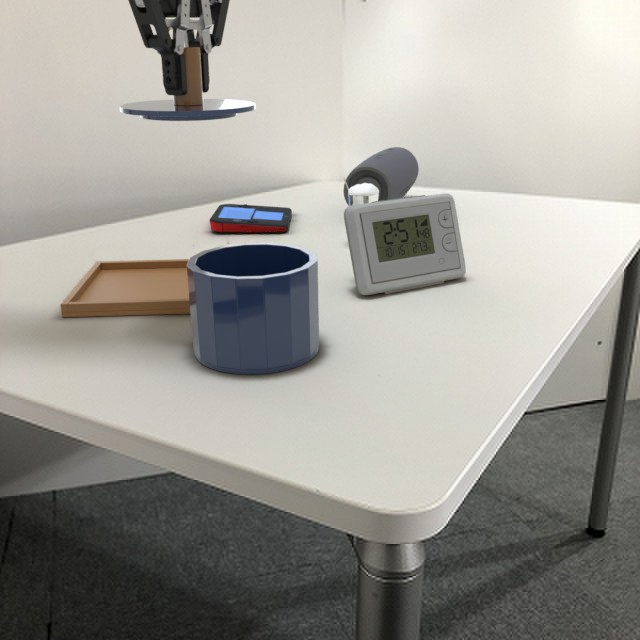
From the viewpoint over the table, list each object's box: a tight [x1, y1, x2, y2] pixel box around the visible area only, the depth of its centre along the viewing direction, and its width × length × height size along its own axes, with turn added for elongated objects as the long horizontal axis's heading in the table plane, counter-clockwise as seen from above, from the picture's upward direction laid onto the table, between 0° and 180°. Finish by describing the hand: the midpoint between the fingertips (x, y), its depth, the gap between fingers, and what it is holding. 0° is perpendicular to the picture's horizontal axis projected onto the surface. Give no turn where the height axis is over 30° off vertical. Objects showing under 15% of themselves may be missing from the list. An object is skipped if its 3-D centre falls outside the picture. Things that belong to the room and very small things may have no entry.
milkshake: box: [342, 176, 379, 207], centre depth 116 cm, size 4×5×10 cm
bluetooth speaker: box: [342, 146, 420, 207], centre depth 138 cm, size 23×9×10 cm, turn 162°
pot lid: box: [119, 46, 257, 122], centre depth 78 cm, size 14×14×7 cm
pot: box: [187, 242, 320, 375], centre depth 78 cm, size 13×13×10 cm
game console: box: [209, 203, 293, 234], centre depth 130 cm, size 14×13×2 cm
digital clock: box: [343, 193, 467, 296], centre depth 97 cm, size 16×9×11 cm, turn 106°
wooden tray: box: [60, 258, 191, 318], centre depth 97 cm, size 18×18×2 cm
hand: (187, 92), depth 78 cm, fingers closed on pot lid, 3 cm apart
